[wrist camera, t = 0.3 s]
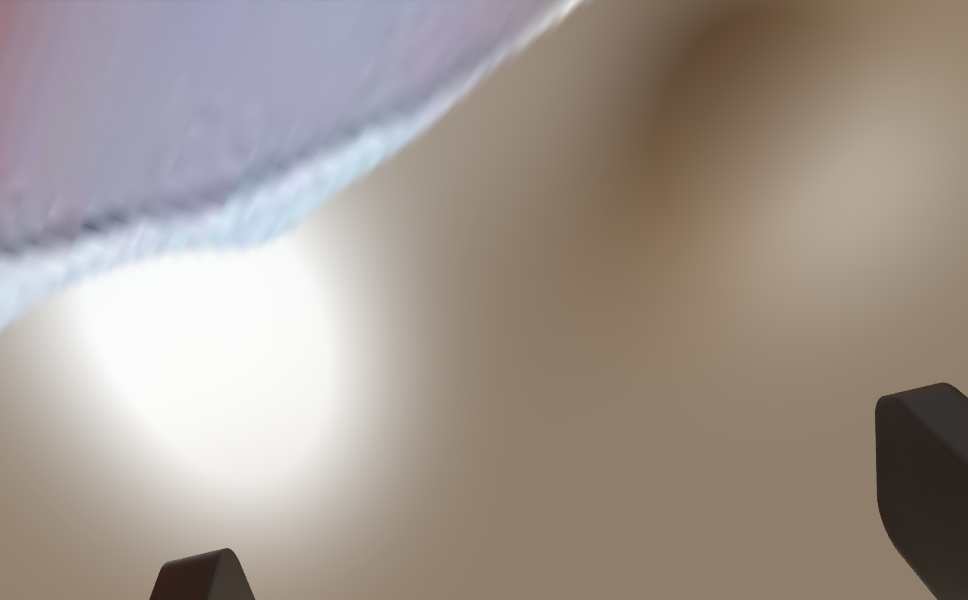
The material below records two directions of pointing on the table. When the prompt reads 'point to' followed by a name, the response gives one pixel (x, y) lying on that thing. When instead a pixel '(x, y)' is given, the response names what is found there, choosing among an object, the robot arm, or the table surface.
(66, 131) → the table surface
